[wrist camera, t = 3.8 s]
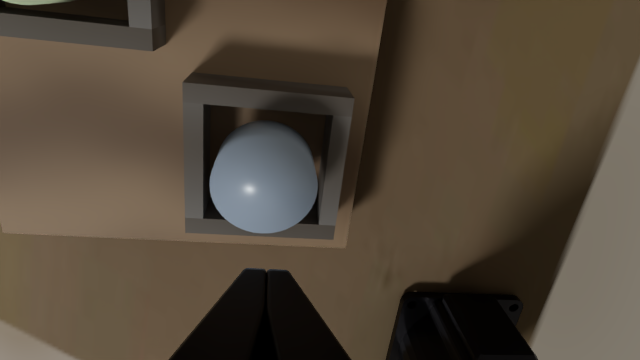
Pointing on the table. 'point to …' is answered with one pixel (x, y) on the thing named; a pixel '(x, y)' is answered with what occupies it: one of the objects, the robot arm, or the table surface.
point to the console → (176, 111)
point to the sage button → (36, 1)
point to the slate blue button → (264, 177)
